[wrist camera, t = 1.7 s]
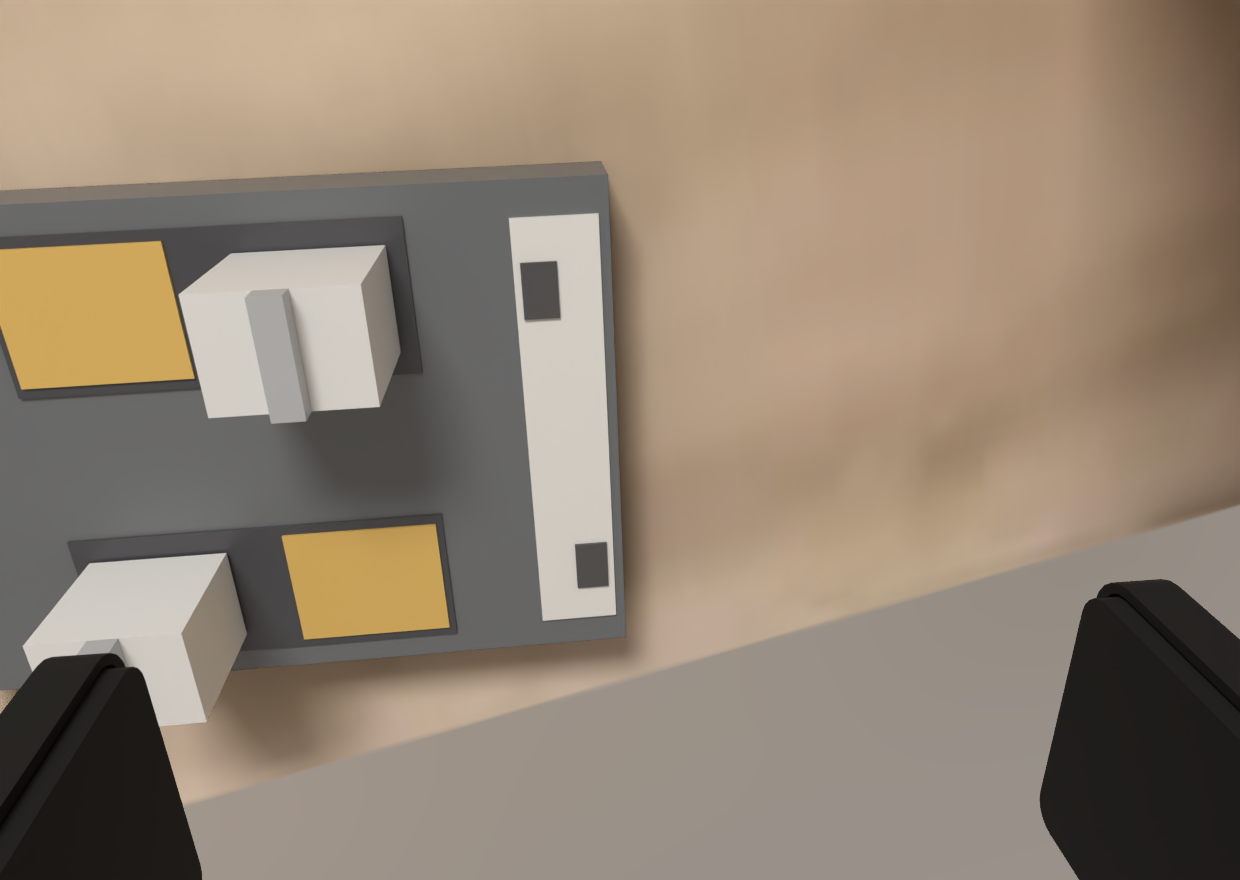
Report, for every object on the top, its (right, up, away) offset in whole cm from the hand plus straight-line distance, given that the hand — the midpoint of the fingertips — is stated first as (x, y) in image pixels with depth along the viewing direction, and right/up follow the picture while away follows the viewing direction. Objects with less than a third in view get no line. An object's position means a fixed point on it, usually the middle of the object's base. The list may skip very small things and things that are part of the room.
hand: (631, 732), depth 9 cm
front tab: (-8, +7, +16) cm, 19 cm away
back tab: (-14, -2, +19) cm, 24 cm away
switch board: (-11, +3, +20) cm, 23 cm away
